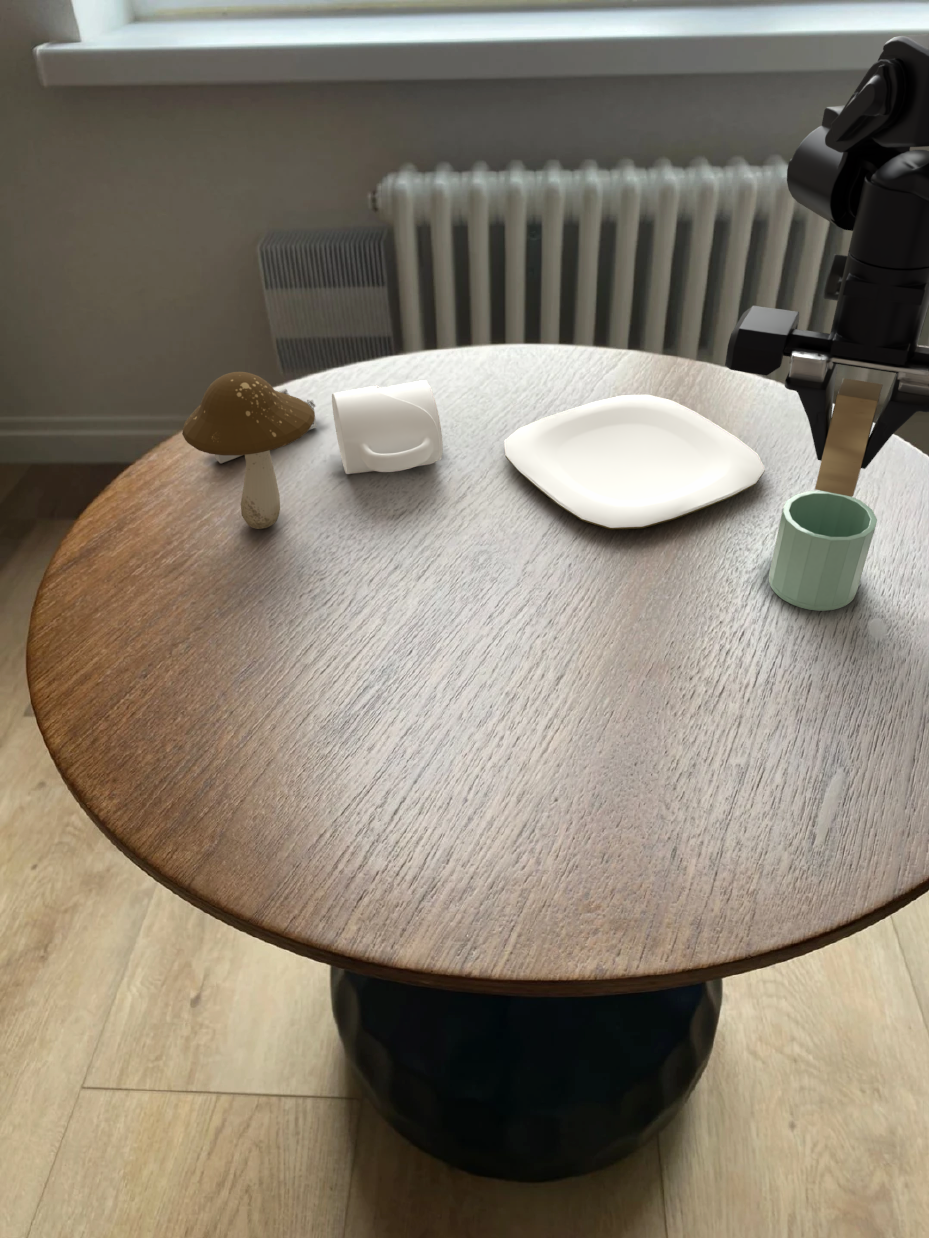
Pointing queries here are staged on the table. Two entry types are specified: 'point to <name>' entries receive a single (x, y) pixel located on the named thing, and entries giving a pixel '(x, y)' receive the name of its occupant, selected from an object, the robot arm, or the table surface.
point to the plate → (632, 461)
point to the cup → (821, 549)
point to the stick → (848, 436)
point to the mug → (387, 427)
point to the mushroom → (249, 435)
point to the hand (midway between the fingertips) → (842, 461)
